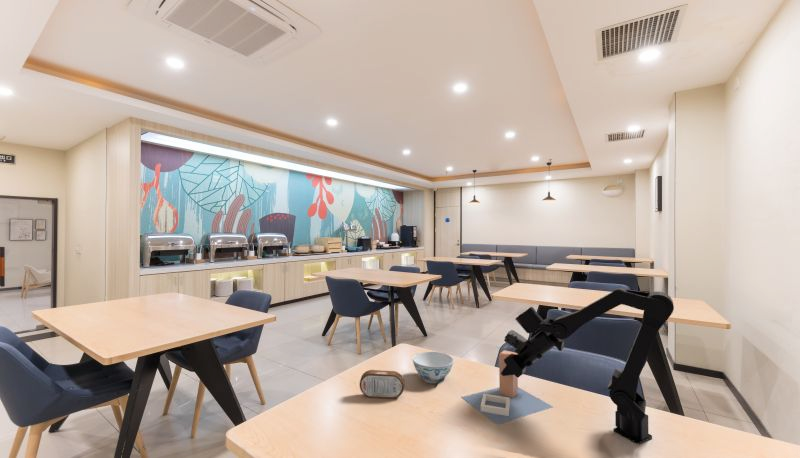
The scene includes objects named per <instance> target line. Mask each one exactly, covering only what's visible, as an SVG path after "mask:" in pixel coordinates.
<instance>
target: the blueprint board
mask: <svg viewBox="0 0 800 458" xmlns="http://www.w3.org/2000/svg"><path fill="white" fill-rule="evenodd" d="M483 394H489V395H496V396H502V397H508V398H510V407H509V416H505V415H499V414H494V413H488V412H482V411H481V402H482V398H483ZM460 398H461V399H463V401H465V402H466V403H467V404H469V405H470V406H471V407H473V408H474V409H476V410H477V411H478V412H480V414H482V415H484V417H486V418H488V419H489V421H491V422H493V423H494V424H495V425H497V426H498V425H501V424H504V423H508V422H510V421H514V420H517V419H520V418H522V417H527V416H528V415H529V416H530V415H532V414H536V413H538V412H543V411H545V410H549V409H552V408H554V406H553V405H552V404H549V403H547V402H546V401H544V400H542V399H541V398H538V397H536V396H535V395H533V394H531V393H530V392H528V391H526V390H525V389H523V388H520V387H519V386H518V393H517V394H516V395H515V396H514V397H513V398H512V397H509V396H506V395H502V394H500V386H499V387H495V388H492V389H487V390H483V391H479V392H475V393H472V394H468V395H464V396H460ZM486 405H489V406H495V407H501V408H506V404H504V403H498V402H492V401H486Z"/></svg>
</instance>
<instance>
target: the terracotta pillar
mask: <svg viewBox="0 0 800 458" xmlns="http://www.w3.org/2000/svg"><path fill="white" fill-rule="evenodd" d="M511 353H512V354H516V355H517V354H518V353H515V352H514V351H510V350H505V349H504V350H503V351H501V352H500V353H499V356H498V358H499V359H498V360H499V361H498V362H499V363H498V364H499V365H498V366H499V368H498V371H499V374H498V375H499V387H500V394H502V395H506V396H509V397H512V398H513V397H514V396H515V395H516V394H517V393H518V387H519V381H518V380H519V377H518V378H517V377H516V376H515V375H507V376H502V374H501V372H502V371H503V369H504V368H505V367H506V364H505V362H504V359H505V358H506V357H508V356H509V355H510V354H511Z"/></svg>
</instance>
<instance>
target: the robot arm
mask: <svg viewBox="0 0 800 458" xmlns="http://www.w3.org/2000/svg"><path fill="white" fill-rule="evenodd" d="M621 305H622V306H627V307H631V308H633V309H637V310H640V311H643V313H642V314H643V315H642V321H641V325H640V327H639V329H638V332H637V335H636V337H635V339H634V342H633V345H632V347H631V350H630V352H629V355H628V356H627V360H626V362H625V364H624V366H623V368H622V369H621V370H620V371H619V370H618V369H616V368H615V369H614V371H613V374H612V376H611V377H612V378H611V379H610V380H609V383H608V385H607V390H609V391H608V392H609V396H608V397H609V398H610V400H611V401H612V403H613V404H614V405H616V410H615V412H614V413H615V414H614V415H615V416H614V417H615V418H614V419H615V421H614V422H615V423H614V424H615V427H614V428H613V432H614V433H616V434H618V435H621V436H622V437H624V438H626V439H628V440H629V441H631V442H634V443H636V444H637V445H639V444H642V443H644V442H646V441H649V440H651V439H653V435H652V434H650V433H649V414H646V407H647V400H646V399H645V398H644V397H643V396H642V394H640V393H639V392H638V386H639V380H640V376H641V373H642V370H643V368H644V366H645V364H646V362H647V359H648V357H649V354H650V352H651V349H652V347H653V344H654V342H655V340H656V337H657V335H658V333H659V331H660V330H661V328H662V327H663V326H664V325H665V324H666V322H667V321H668V319H669V318H670V317H671V315H672V314H673V312H674V309H675V307H674V301H673V299H672V297H671V296H670V295H669V294H667V293H666V292H663V291H653V292H651V293H650V292H646V291H641V290H631V289H627V288H623V287H617V288H615V289H613V290H612V291H610V292H609V293H608V294H606V295H604V296H602V297H600V298H599V299H597V300H596V301H593V302H591V303H590V304H588V305H586V306H584V307H583V308H581V309H578V310H576V311H574V312H573V311H572V312H570V313H569V312H568V313H566V314H563V315H560V316H558V317H556V318H545V319H543V318H542V316H541V315H540V314H539V313H538V312H537V311H536V309H535V308H534V307H533V306H531V307H528V309H526V310H525V311H523V312H522V313H520V314H518V316H517V317H515V318H514V319H515V321H516V322H517V324H519V325H520V327H521V328H522V329H523V330H524V332H525V333H527V334H529V335H531V334H532V335H533V337H529V338H528V339H527V338H525V337H524V336H523V335H522V334H520V333H519V332H517V331H515V330H513V329H511V330H509V331H508V332H507V334H506V335H505V336H504V340H503V341H504V342H505V343H506V344H508V345H510V346H512V347H513V348H515V350H514V351H515V352H514V353H518V354H517V355H516V354H512V353H511V354H510V355H509V356H508V357H506V358H505V359H504V362H505V364H506V367H505V368H504V369H503V371H502V372H501V374H502V376H507V375H515V376H516V377H517V378H518V379H519V378H520V377H521V376H522V375H524V374H525V372H526V371H527V369H526V368H527V367H530V366H532V365H533V364H534V363H535V362H536V361H538V360H540V359H542V357H543V356H544V355H546V354H547V353H548V352H550V351H551V350H552V349H554V348H556V349H557V350H558V351H559V352H562V351H563V350H564V348H565V344H564V343H565V340H566V339H567V338H569V337H570V336H572V335H573V334H574V333H575V332H576V331H577V330H579V329H580V328H581V327H582V326H583V325H585V324H586V323H588V322H590V321H592V320H594V319H595V318H598V317H600V316H601V315H603V314H605V313H608V312H610V311H611V310H613V309H615V308H616V307H618V306H621ZM539 330H540V331H539ZM537 331H539V332H538V333H536V332H537ZM535 333H536V334H535ZM534 334H535V335H534Z"/></svg>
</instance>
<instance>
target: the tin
mask: <svg viewBox="0 0 800 458" xmlns="http://www.w3.org/2000/svg"><path fill="white" fill-rule="evenodd" d="M405 386H406V382H405V378H404V377H403V375H402V374H401V373H400V372H398V371H394V370H378V369H370V370H366V371H365V372H364V373H362V375H361V377H360V380H359V388H360V392H361V393H362V394H363V395H364V396H365V397H367V398H375V399H376V398H377V399H389V400H391V399H398V398H399V397H400V396H401V395H402V394H403V392H404V390H405Z"/></svg>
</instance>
